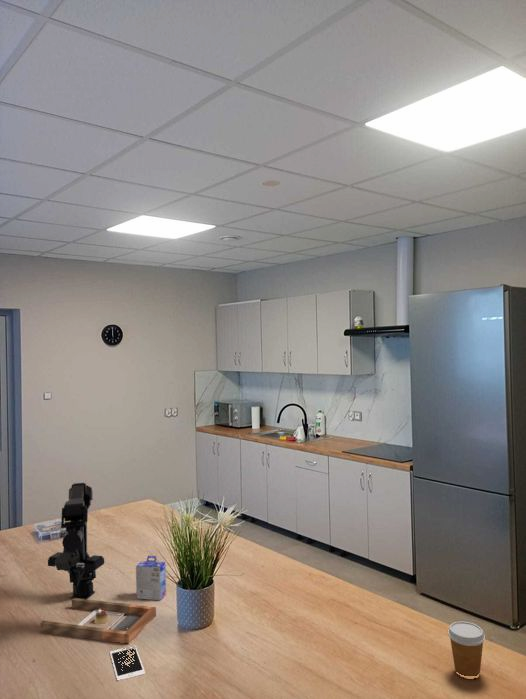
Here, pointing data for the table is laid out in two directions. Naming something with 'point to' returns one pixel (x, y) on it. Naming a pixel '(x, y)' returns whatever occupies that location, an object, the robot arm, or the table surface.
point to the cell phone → (127, 671)
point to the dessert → (100, 617)
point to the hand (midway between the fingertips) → (76, 586)
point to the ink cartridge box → (151, 579)
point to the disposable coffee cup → (466, 647)
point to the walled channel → (120, 633)
